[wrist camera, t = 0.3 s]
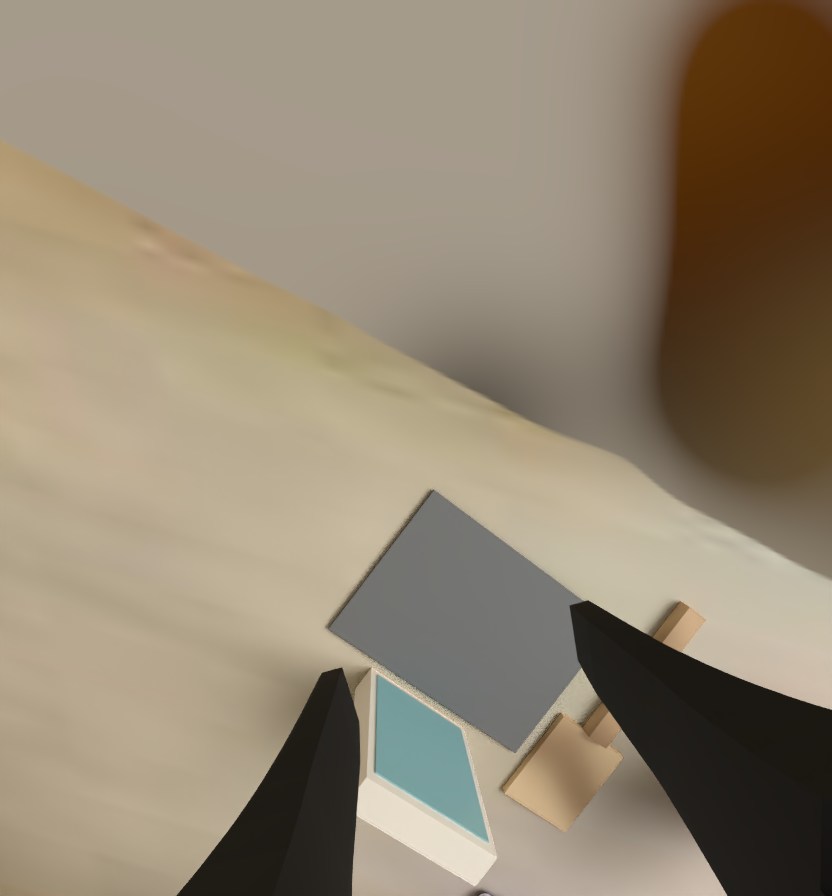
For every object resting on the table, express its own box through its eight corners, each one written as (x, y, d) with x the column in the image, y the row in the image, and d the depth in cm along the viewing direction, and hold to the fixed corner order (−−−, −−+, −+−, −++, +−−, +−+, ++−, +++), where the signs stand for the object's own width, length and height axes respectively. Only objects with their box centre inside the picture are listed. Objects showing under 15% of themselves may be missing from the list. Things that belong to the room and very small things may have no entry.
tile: (448, 748, 24) (475, 886, 17) (355, 688, 23) (343, 807, 16) (464, 726, 24) (498, 856, 17) (372, 666, 23) (367, 775, 16)
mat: (513, 750, 24) (515, 753, 24) (329, 627, 22) (328, 629, 22) (612, 622, 24) (614, 624, 24) (433, 489, 22) (434, 490, 22)
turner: (562, 825, 25) (568, 839, 24) (502, 787, 24) (506, 799, 23) (715, 628, 25) (726, 636, 24) (659, 584, 24) (668, 590, 23)
